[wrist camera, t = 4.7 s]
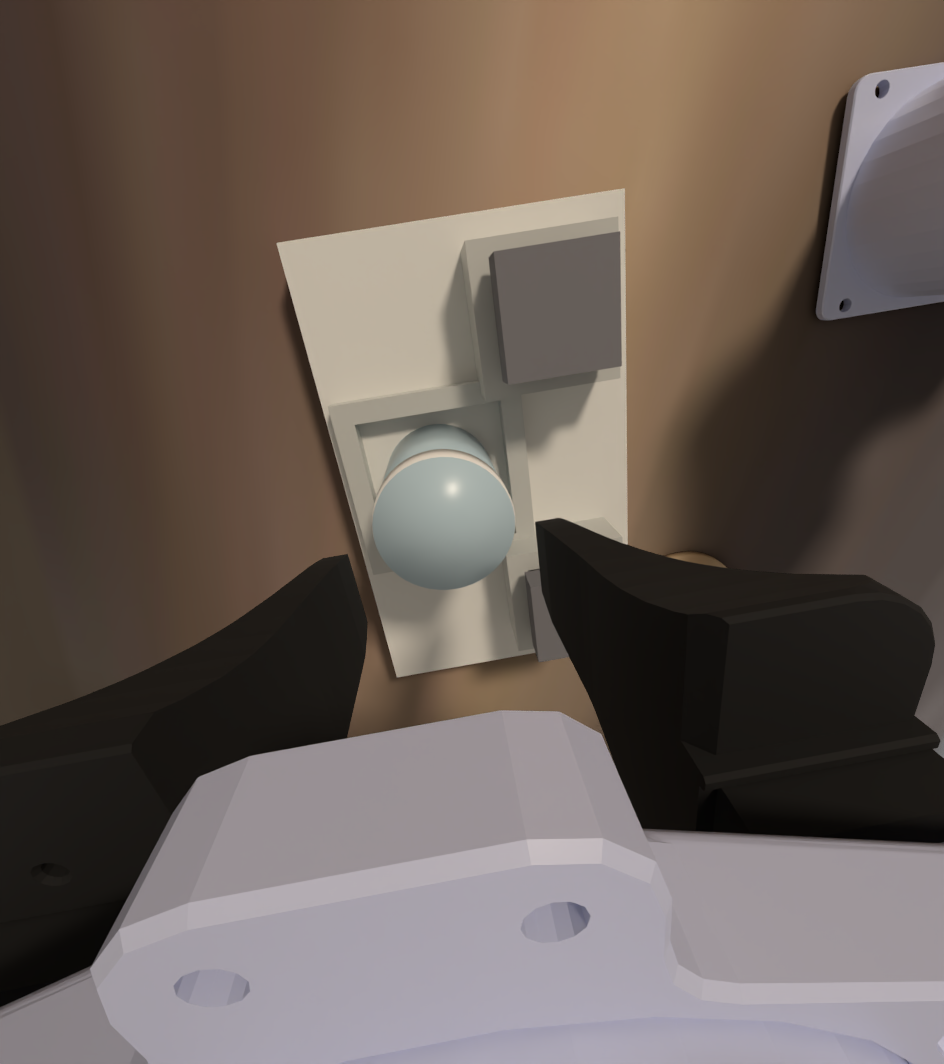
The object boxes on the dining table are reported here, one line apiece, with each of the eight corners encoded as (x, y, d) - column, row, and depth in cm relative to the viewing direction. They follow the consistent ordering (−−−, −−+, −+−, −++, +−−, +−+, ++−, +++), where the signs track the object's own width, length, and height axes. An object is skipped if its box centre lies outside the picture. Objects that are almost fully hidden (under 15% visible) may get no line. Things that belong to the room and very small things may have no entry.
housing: (603, 203, 17) (653, 166, 14) (613, 614, 25) (647, 664, 21) (292, 252, 17) (253, 229, 13) (399, 652, 25) (393, 710, 21)
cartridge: (485, 414, 18) (507, 445, 13) (499, 516, 20) (523, 578, 15) (374, 432, 18) (354, 470, 13) (398, 534, 20) (388, 601, 15)
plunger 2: (596, 538, 20) (623, 571, 17) (599, 606, 21) (624, 647, 19) (516, 552, 20) (530, 587, 17) (524, 620, 21) (538, 662, 19)
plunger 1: (586, 249, 15) (620, 231, 13) (590, 360, 17) (621, 366, 14) (481, 265, 15) (493, 251, 13) (495, 376, 17) (508, 385, 14)
